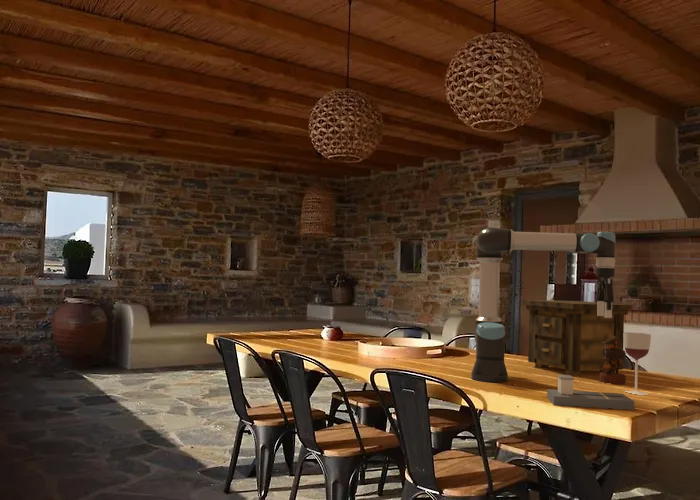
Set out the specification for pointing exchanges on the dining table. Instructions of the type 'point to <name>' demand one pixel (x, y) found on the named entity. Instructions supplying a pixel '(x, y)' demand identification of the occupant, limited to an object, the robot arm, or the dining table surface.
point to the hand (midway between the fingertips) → (604, 316)
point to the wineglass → (636, 351)
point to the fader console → (591, 399)
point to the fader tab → (565, 384)
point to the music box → (612, 363)
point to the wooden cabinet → (572, 334)
